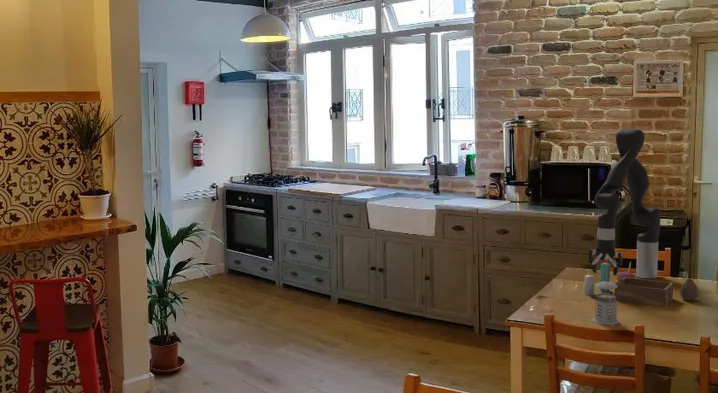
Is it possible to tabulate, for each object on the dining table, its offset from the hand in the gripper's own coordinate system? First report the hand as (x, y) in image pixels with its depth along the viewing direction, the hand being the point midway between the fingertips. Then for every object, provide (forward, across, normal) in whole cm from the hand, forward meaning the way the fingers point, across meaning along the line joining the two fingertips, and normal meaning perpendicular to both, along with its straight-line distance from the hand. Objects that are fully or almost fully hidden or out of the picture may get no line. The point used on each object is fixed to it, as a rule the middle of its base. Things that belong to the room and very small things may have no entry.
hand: (604, 274), depth 315 cm
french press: (+8, -14, +45) cm, 47 cm away
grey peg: (+8, +4, +9) cm, 12 cm away
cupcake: (+8, -6, -11) cm, 15 cm away
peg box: (+8, -18, +6) cm, 20 cm away
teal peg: (+8, 0, 0) cm, 8 cm away
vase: (+8, -34, -3) cm, 35 cm away
